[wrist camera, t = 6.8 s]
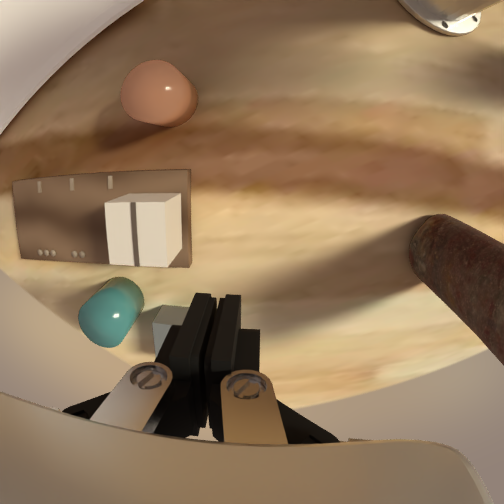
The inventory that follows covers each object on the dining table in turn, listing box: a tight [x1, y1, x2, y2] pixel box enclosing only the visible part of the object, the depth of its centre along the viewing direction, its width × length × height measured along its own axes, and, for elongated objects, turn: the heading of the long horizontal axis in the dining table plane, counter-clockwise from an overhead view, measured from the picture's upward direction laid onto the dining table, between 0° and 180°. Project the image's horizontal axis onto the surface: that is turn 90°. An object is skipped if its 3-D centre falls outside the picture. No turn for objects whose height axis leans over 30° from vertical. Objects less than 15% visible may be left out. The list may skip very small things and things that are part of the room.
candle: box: [409, 214, 504, 365], centre depth 20 cm, size 8×7×20 cm
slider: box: [105, 193, 182, 267], centre depth 25 cm, size 5×5×5 cm
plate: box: [0, 0, 144, 134], centre depth 21 cm, size 26×26×2 cm
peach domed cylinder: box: [121, 60, 198, 127], centre depth 23 cm, size 5×5×6 cm
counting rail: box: [13, 169, 192, 268], centre depth 29 cm, size 9×21×2 cm, turn 88°
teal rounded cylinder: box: [78, 277, 144, 348], centre depth 29 cm, size 5×5×6 cm
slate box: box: [152, 305, 189, 357], centre depth 31 cm, size 5×5×4 cm
